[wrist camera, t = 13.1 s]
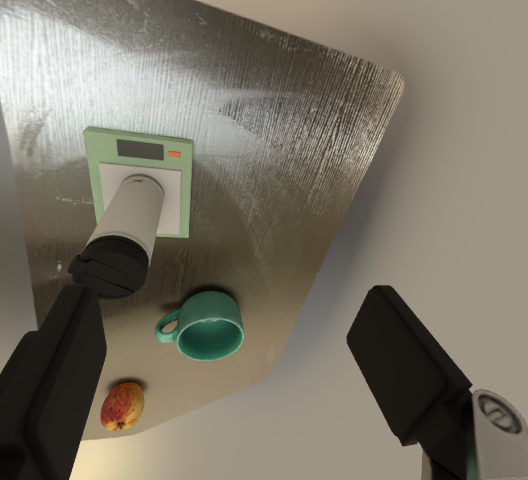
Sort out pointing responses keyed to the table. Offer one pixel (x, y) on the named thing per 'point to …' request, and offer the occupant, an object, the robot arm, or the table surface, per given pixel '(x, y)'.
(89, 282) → the travel mug
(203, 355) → the mug
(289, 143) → the table surface
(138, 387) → the apple
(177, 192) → the scale
